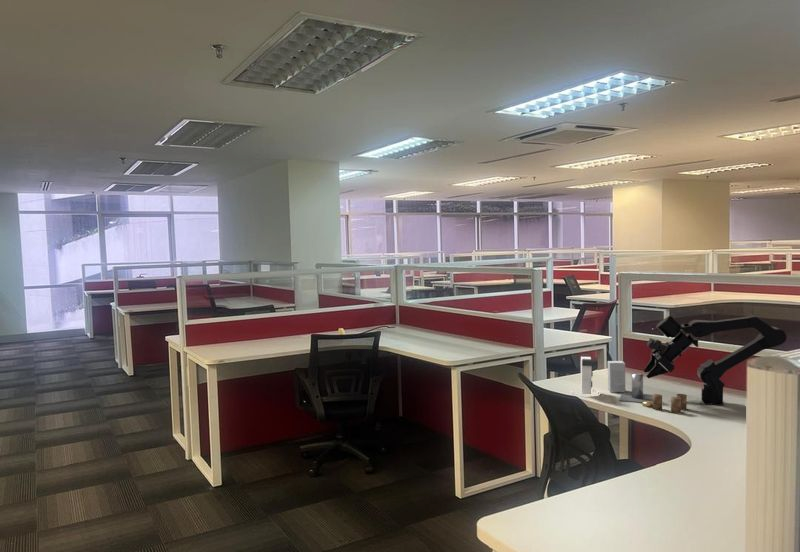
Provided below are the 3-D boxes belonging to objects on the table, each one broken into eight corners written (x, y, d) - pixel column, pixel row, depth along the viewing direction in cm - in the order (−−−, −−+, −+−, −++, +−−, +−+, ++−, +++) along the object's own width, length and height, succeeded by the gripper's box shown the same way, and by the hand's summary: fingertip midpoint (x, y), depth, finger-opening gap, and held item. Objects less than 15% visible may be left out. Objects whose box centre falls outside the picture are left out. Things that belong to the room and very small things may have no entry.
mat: (654, 395, 225) (654, 394, 225) (654, 404, 214) (654, 403, 214) (621, 393, 229) (621, 392, 229) (619, 401, 218) (619, 400, 218)
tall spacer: (644, 396, 222) (644, 373, 221) (641, 399, 219) (641, 376, 218) (633, 395, 224) (633, 372, 224) (630, 397, 221) (630, 374, 220)
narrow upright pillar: (602, 398, 223) (602, 360, 222) (571, 397, 226) (571, 359, 225) (599, 390, 234) (599, 354, 233) (570, 389, 237) (570, 353, 236)
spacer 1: (662, 408, 209) (662, 394, 208) (662, 410, 206) (662, 396, 205) (652, 407, 210) (652, 393, 210) (652, 409, 207) (652, 395, 207)
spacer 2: (680, 411, 204) (680, 397, 204) (681, 413, 201) (681, 399, 201) (670, 410, 206) (670, 396, 205) (671, 412, 203) (671, 398, 202)
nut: (654, 405, 213) (654, 401, 213) (654, 408, 209) (654, 404, 209) (642, 404, 214) (642, 400, 214) (642, 407, 211) (642, 403, 211)
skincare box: (622, 389, 235) (622, 360, 234) (625, 392, 230) (625, 362, 230) (607, 389, 235) (607, 360, 235) (610, 392, 231) (610, 362, 230)
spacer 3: (686, 407, 208) (686, 394, 208) (686, 410, 205) (686, 396, 205) (676, 407, 209) (676, 393, 209) (676, 409, 206) (676, 395, 206)
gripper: (656, 327, 226) (627, 354, 230) (664, 335, 209) (632, 364, 212) (679, 347, 225) (648, 374, 228) (688, 357, 207) (655, 386, 211)
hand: (645, 374), depth 220 cm, fingers open, 9 cm apart
